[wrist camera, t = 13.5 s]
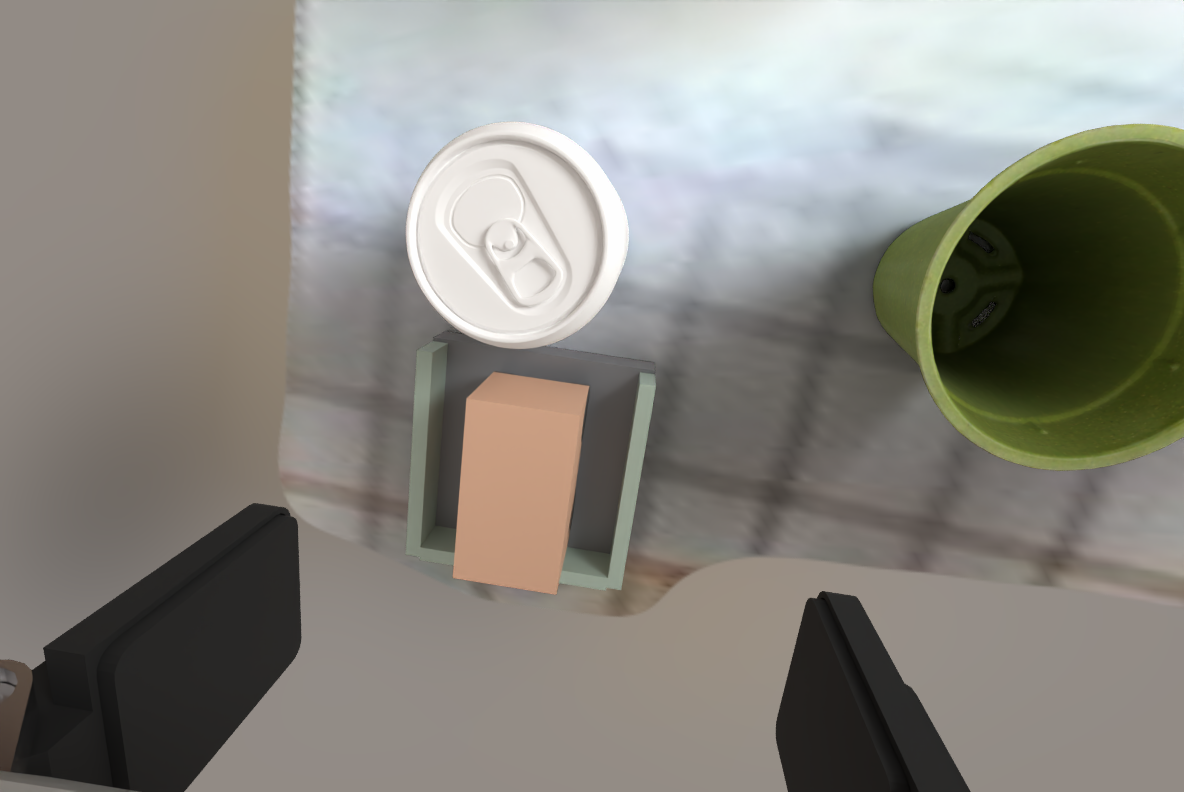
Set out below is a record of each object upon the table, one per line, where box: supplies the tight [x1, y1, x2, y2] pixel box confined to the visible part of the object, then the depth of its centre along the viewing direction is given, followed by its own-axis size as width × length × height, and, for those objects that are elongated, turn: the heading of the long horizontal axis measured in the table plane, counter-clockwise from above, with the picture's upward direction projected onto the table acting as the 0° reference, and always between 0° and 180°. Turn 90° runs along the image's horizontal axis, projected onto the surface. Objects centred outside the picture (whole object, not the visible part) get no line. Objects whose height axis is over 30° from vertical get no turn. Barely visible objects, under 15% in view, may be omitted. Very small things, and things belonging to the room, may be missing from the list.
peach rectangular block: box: [453, 371, 590, 595], centre depth 30 cm, size 9×5×6 cm, turn 172°
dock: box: [406, 331, 656, 591], centre depth 33 cm, size 12×12×4 cm
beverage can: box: [406, 122, 629, 349], centre depth 26 cm, size 8×8×12 cm
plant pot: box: [873, 124, 1184, 471], centre depth 26 cm, size 12×12×11 cm
